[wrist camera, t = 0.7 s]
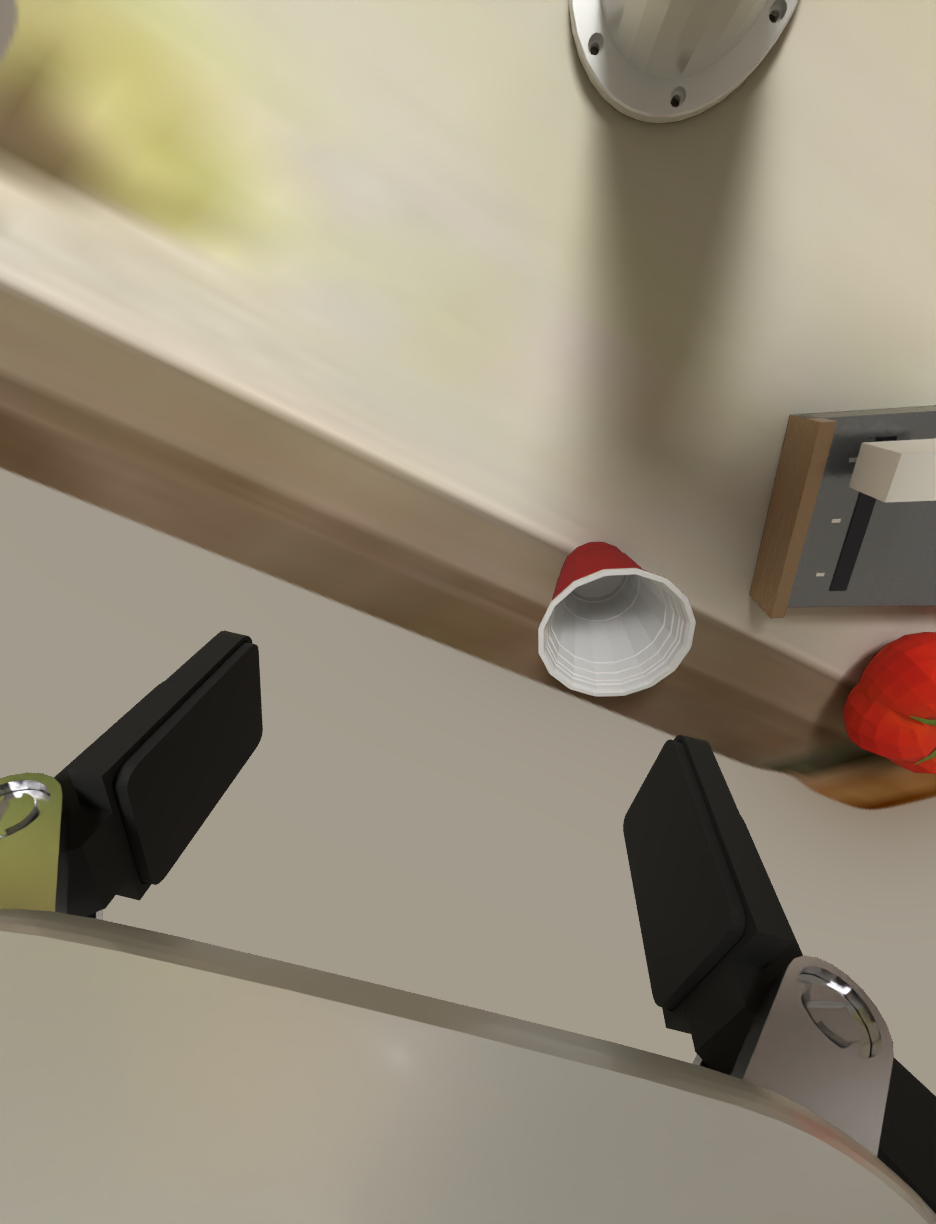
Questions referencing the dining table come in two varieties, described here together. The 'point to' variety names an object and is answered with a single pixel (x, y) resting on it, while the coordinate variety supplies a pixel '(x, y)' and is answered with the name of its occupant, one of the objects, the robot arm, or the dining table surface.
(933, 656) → the tomato
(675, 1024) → the robot arm
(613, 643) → the plastic cup
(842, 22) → the dining table surface
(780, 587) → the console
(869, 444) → the block
